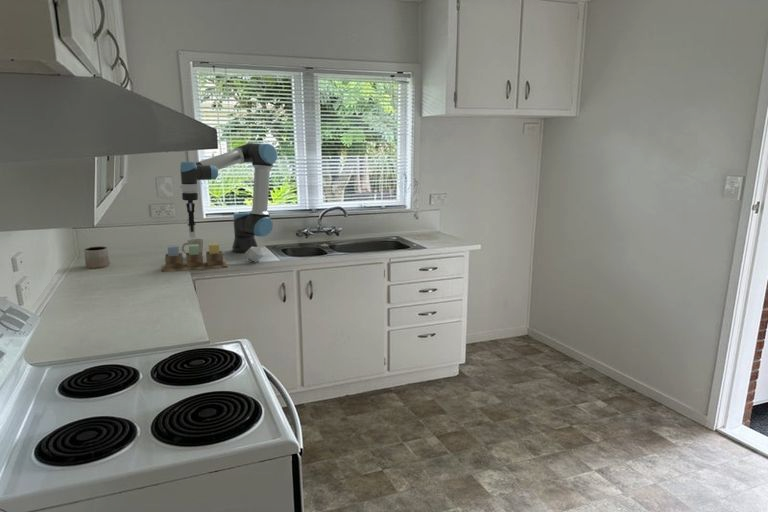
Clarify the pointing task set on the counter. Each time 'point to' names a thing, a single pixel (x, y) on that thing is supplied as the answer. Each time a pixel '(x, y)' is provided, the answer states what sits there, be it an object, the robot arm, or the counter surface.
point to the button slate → (173, 250)
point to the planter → (96, 257)
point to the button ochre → (213, 248)
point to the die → (254, 254)
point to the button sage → (194, 249)
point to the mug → (194, 241)
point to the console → (193, 262)
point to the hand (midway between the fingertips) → (192, 237)
